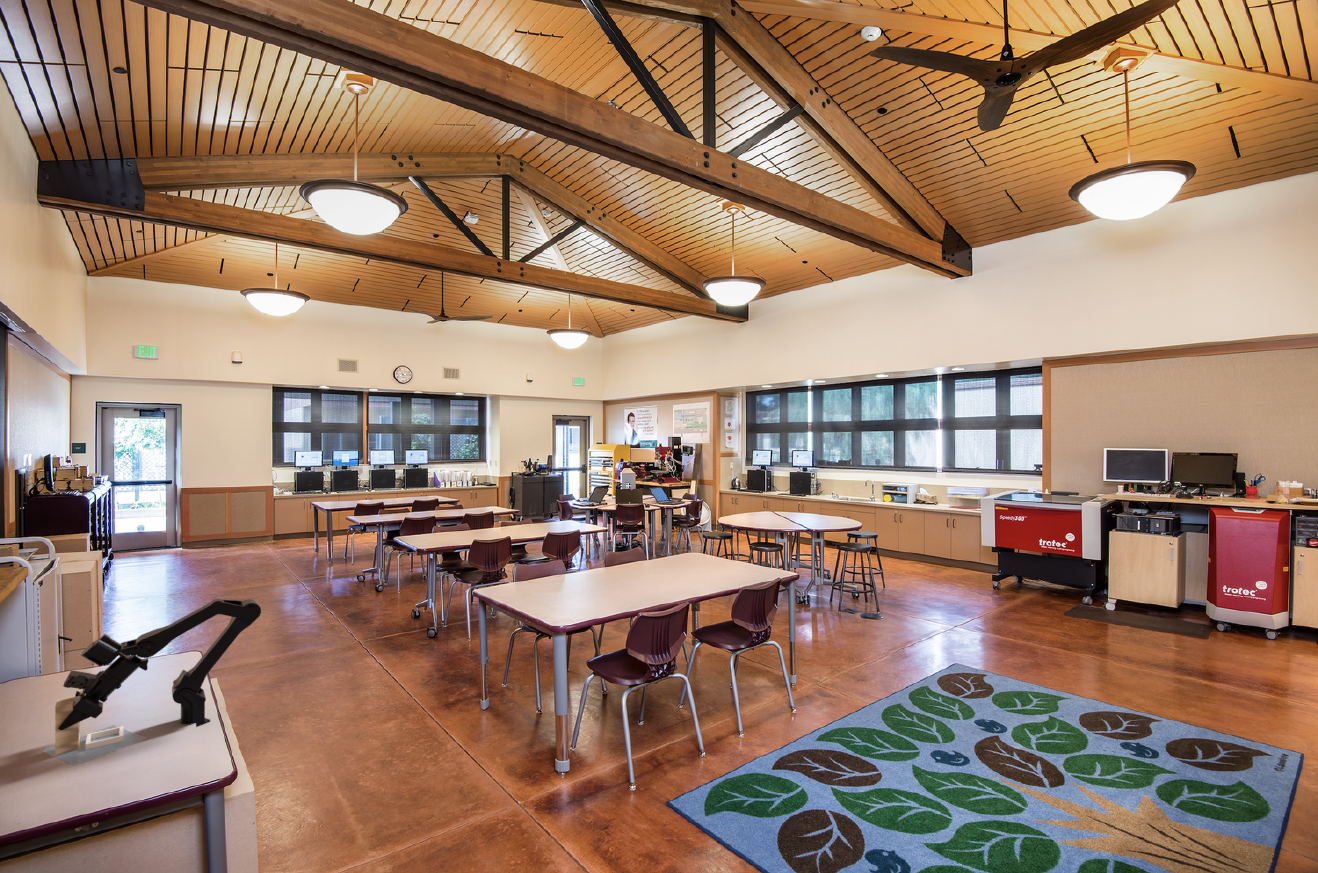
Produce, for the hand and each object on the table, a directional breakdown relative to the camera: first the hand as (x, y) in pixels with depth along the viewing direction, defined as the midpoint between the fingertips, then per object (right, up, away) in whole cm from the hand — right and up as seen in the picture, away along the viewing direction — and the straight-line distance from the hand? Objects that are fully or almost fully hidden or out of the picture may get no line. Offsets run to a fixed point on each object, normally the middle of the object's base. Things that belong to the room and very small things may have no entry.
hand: (60, 726), depth 166 cm
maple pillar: (+1, -7, +1) cm, 7 cm away
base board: (+6, -8, +4) cm, 10 cm away
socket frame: (+7, -7, +6) cm, 11 cm away
